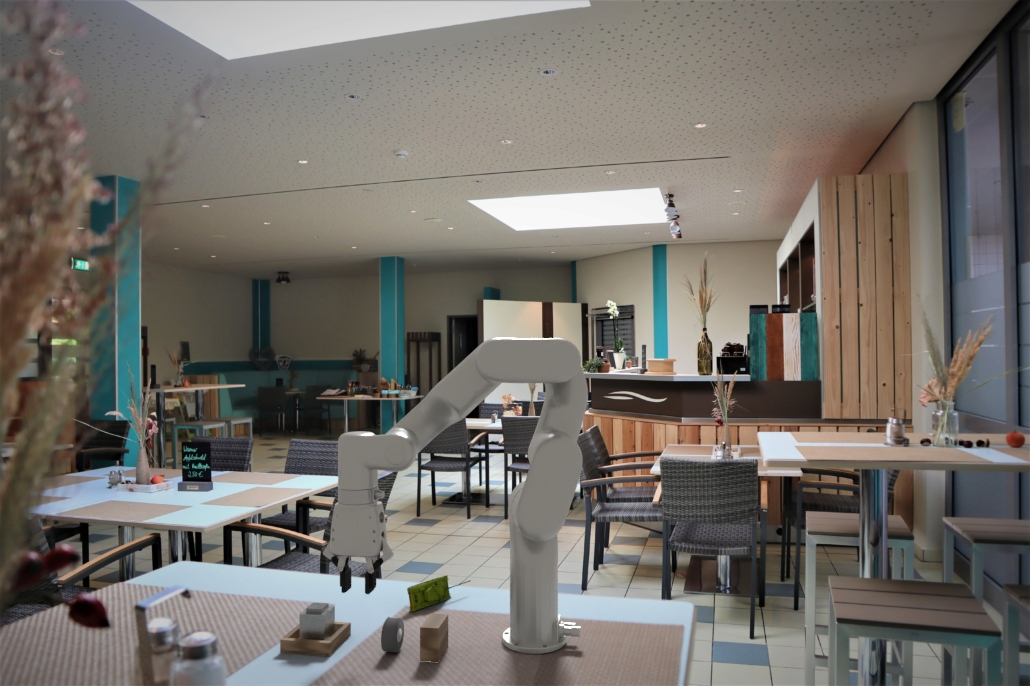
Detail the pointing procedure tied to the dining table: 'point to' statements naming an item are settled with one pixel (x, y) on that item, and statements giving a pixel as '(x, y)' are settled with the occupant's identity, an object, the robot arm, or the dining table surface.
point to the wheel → (392, 634)
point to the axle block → (434, 637)
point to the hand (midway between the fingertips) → (358, 590)
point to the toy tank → (429, 593)
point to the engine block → (317, 622)
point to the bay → (315, 642)
